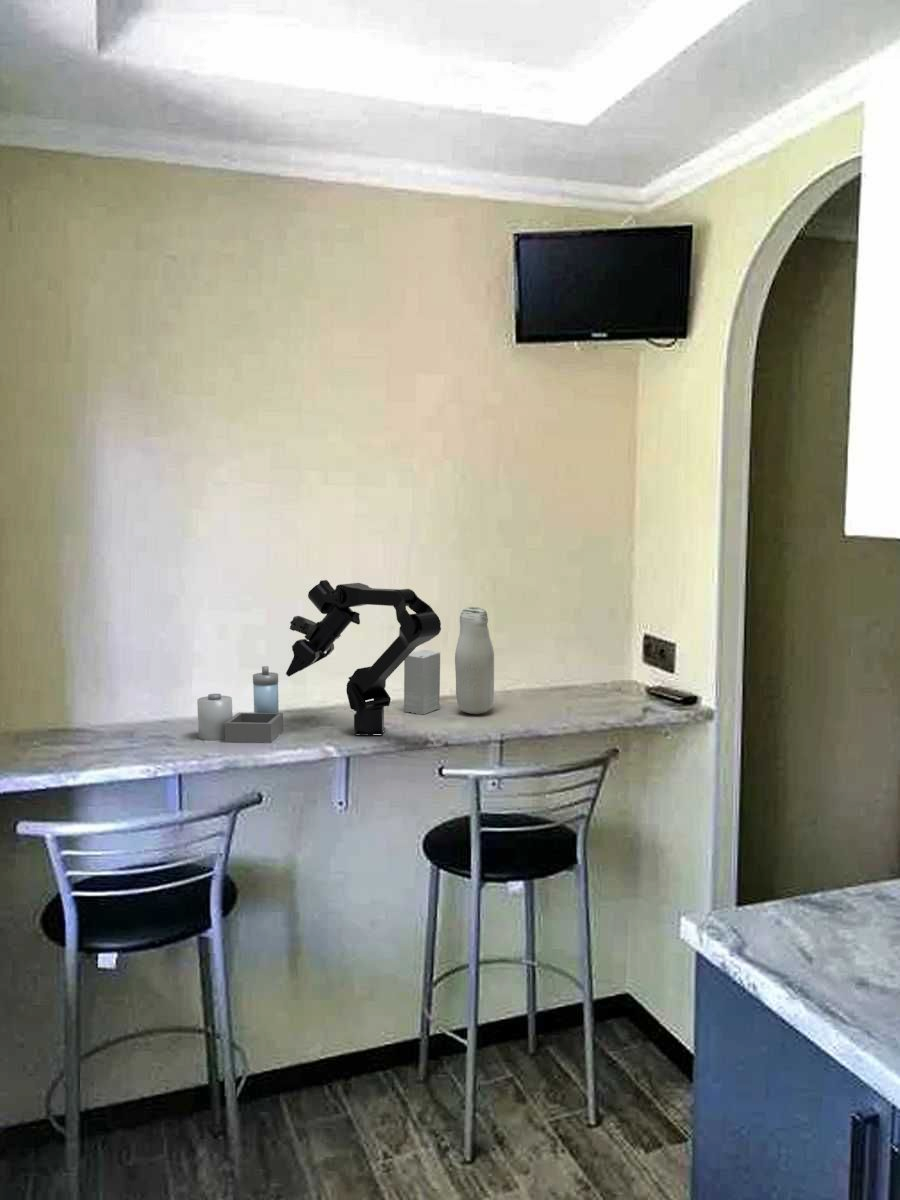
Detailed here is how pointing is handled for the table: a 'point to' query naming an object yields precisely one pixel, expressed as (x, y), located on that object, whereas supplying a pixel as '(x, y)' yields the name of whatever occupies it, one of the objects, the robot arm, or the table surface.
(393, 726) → the table surface
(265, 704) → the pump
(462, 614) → the glass bottle
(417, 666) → the skincare box
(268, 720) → the jar and tray set
